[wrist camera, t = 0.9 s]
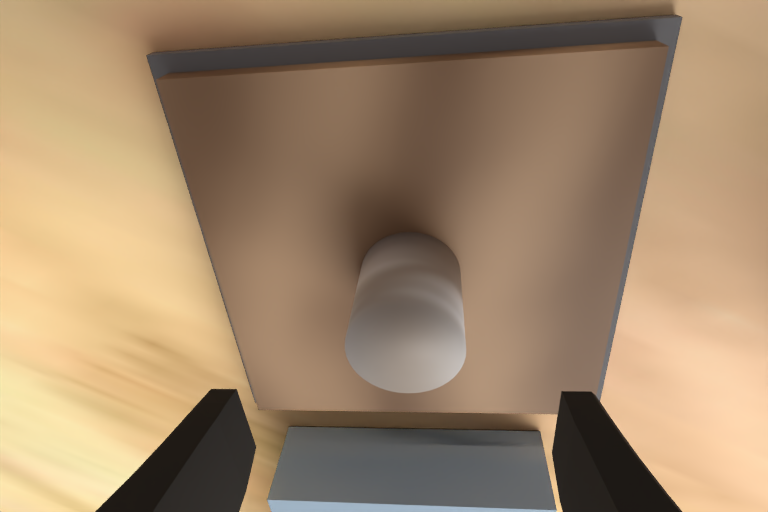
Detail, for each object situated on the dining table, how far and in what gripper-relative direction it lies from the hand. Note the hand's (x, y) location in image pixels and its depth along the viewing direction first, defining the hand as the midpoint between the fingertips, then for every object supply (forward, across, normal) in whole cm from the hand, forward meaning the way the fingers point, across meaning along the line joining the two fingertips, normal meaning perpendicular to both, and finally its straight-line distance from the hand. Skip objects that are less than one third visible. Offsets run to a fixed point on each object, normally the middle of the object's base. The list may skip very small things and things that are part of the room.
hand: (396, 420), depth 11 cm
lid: (+7, 0, 0) cm, 7 cm away
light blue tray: (+7, 0, +14) cm, 16 cm away
